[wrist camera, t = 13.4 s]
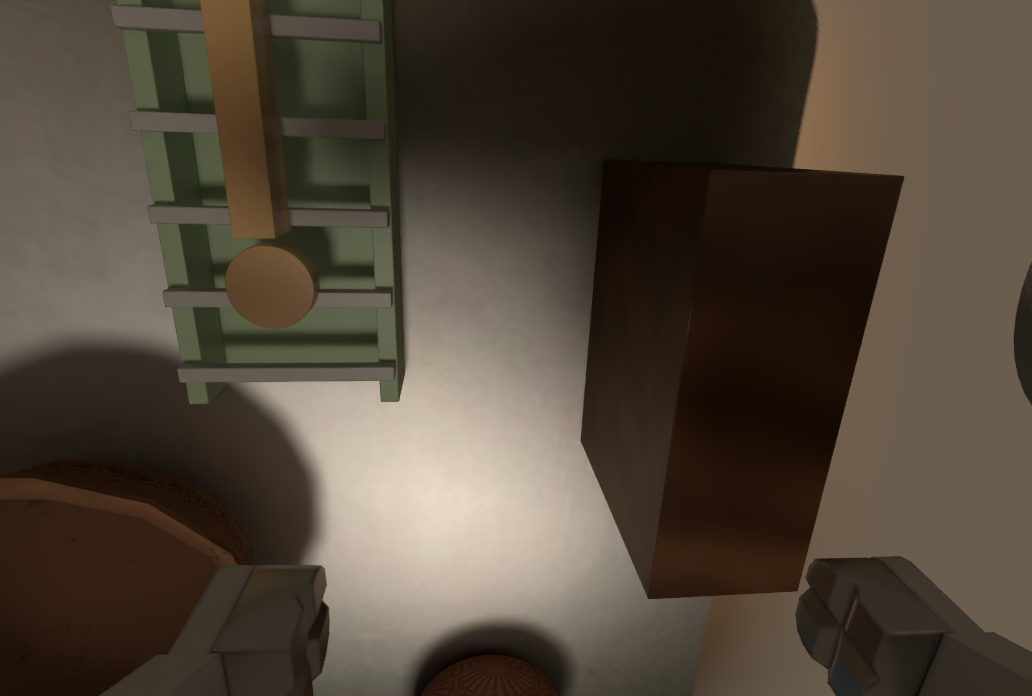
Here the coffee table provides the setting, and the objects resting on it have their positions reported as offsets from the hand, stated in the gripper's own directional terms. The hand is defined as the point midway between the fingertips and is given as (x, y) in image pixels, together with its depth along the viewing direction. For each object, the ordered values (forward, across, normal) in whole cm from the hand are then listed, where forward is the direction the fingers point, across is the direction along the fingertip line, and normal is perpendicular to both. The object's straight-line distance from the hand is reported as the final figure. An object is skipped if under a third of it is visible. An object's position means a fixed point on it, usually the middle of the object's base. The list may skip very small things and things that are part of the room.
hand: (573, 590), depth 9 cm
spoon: (+20, +11, -5) cm, 24 cm away
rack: (+25, +11, -5) cm, 28 cm away
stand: (+26, -9, +3) cm, 27 cm away
